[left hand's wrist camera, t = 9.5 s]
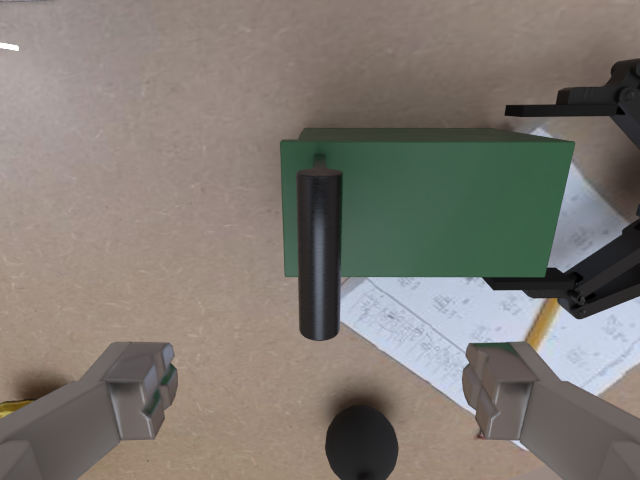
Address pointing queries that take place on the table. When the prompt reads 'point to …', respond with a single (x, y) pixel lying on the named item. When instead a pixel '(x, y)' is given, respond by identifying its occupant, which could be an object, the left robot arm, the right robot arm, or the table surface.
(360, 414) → the bomb
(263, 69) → the table surface
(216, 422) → the table surface
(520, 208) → the lid
